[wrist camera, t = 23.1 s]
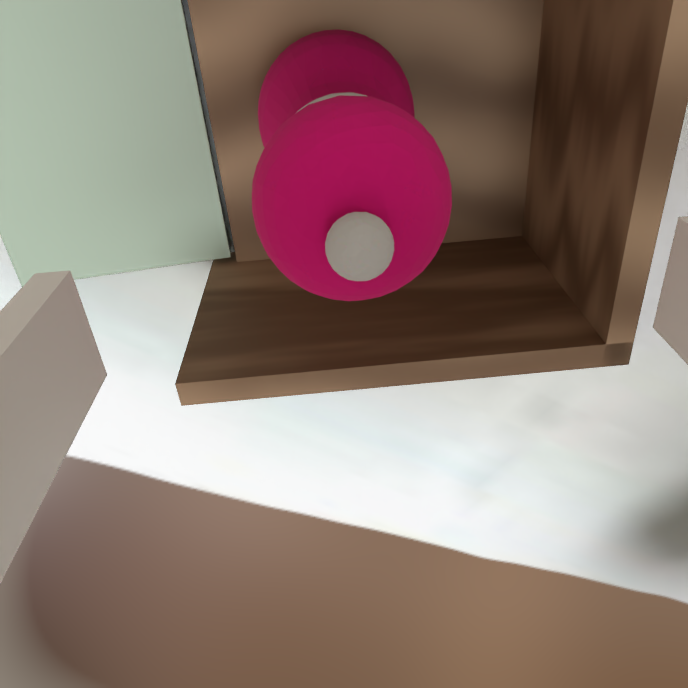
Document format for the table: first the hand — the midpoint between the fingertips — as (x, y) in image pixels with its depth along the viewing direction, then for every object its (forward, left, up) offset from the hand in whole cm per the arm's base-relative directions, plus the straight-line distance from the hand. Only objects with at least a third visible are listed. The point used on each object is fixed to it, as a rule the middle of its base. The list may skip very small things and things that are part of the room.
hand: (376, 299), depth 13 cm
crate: (0, -2, -23) cm, 23 cm away
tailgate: (0, +7, -22) cm, 23 cm away
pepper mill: (0, 0, -22) cm, 22 cm away
